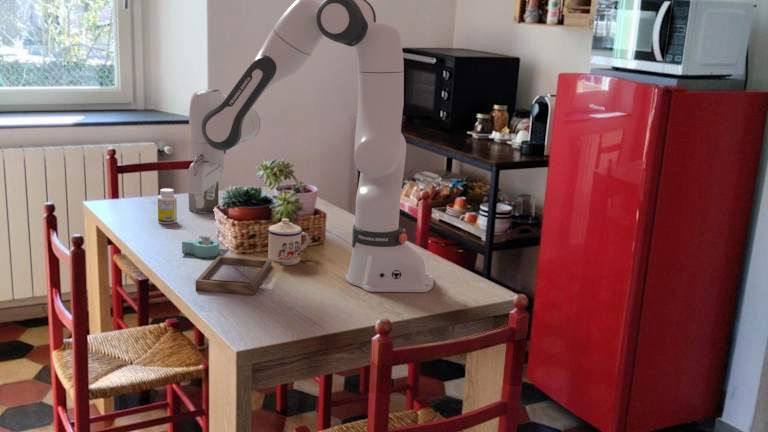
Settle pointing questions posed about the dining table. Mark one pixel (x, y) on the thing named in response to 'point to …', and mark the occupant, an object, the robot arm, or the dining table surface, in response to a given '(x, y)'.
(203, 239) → the post stand
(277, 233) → the teacup with lid
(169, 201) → the supplement bottle
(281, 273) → the dining table surface
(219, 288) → the walnut tray
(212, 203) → the pillar candle
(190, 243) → the teal ring
